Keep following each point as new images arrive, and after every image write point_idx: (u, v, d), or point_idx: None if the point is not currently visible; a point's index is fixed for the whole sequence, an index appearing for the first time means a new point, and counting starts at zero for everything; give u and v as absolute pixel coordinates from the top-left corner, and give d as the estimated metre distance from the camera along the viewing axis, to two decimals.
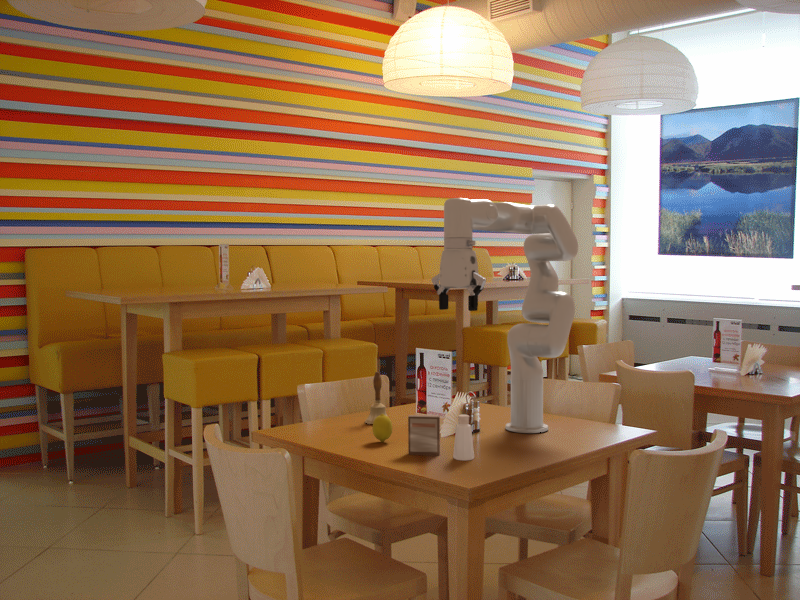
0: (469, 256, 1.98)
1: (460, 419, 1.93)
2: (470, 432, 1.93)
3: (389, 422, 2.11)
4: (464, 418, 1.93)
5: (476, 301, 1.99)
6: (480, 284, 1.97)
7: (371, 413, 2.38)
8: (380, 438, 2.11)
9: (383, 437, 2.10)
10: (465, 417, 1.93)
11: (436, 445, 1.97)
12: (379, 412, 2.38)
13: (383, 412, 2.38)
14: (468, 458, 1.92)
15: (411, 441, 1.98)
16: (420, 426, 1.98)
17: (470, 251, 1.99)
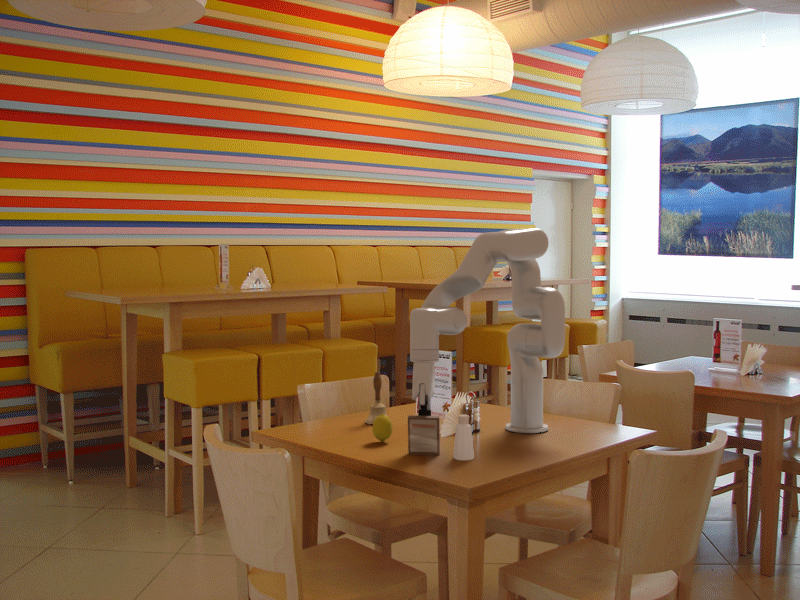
0: None
1: (460, 419, 1.93)
2: (470, 432, 1.93)
3: (389, 422, 2.11)
4: (464, 418, 1.93)
5: None
6: None
7: (371, 413, 2.38)
8: (380, 438, 2.11)
9: (383, 437, 2.10)
10: (465, 417, 1.93)
11: (436, 446, 1.97)
12: (379, 412, 2.38)
13: (383, 412, 2.38)
14: (468, 458, 1.92)
15: (411, 441, 1.98)
16: (419, 427, 1.97)
17: None
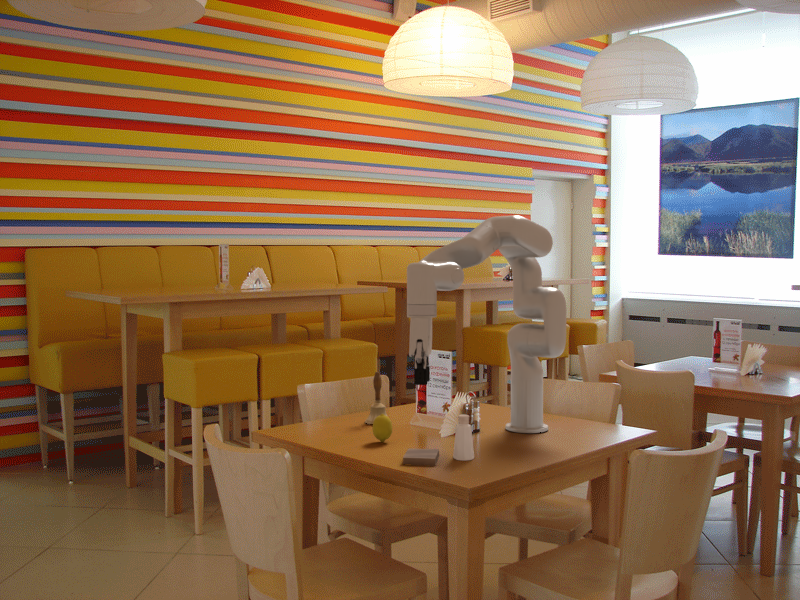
0: None
1: (460, 419, 1.93)
2: (470, 432, 1.93)
3: (389, 422, 2.11)
4: (464, 418, 1.93)
5: None
6: None
7: (371, 413, 2.38)
8: (380, 438, 2.11)
9: (383, 437, 2.10)
10: (465, 417, 1.93)
11: None
12: (379, 412, 2.38)
13: (383, 412, 2.38)
14: (468, 458, 1.92)
15: None
16: None
17: None
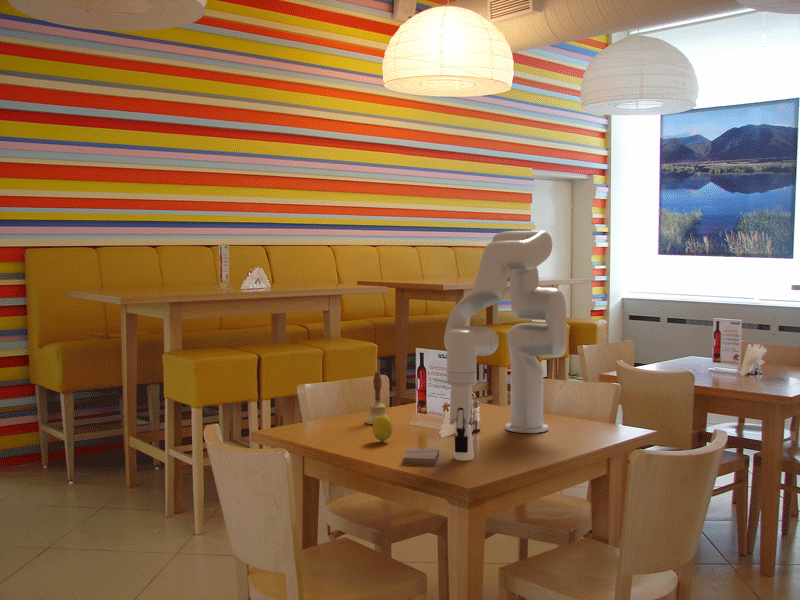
0: None
1: None
2: (470, 432, 1.93)
3: (389, 422, 2.11)
4: None
5: None
6: None
7: (371, 413, 2.38)
8: (380, 438, 2.11)
9: (383, 437, 2.10)
10: None
11: None
12: (379, 412, 2.38)
13: (383, 412, 2.38)
14: (468, 458, 1.92)
15: None
16: None
17: None
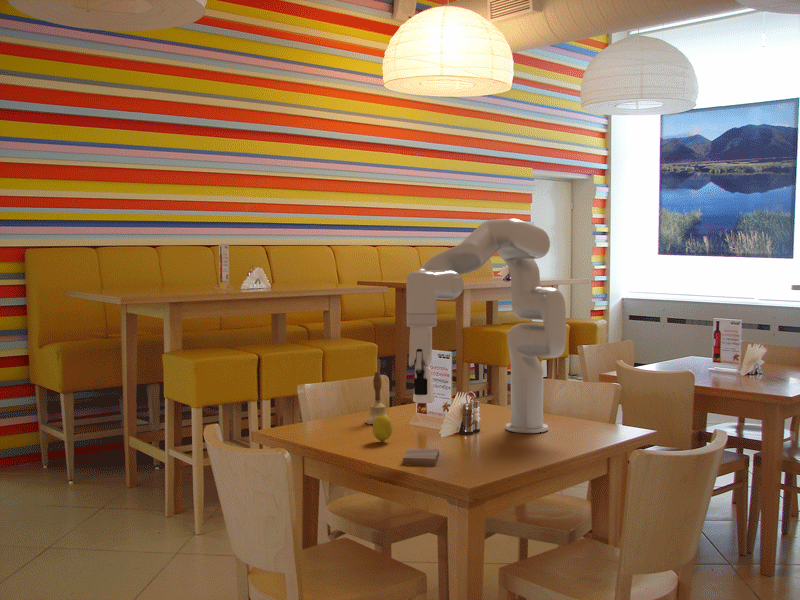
0: None
1: None
2: (430, 375, 1.92)
3: (389, 422, 2.11)
4: None
5: None
6: None
7: (371, 413, 2.38)
8: (380, 438, 2.11)
9: (383, 437, 2.10)
10: None
11: None
12: (379, 412, 2.38)
13: (383, 412, 2.38)
14: (428, 401, 1.90)
15: None
16: None
17: None
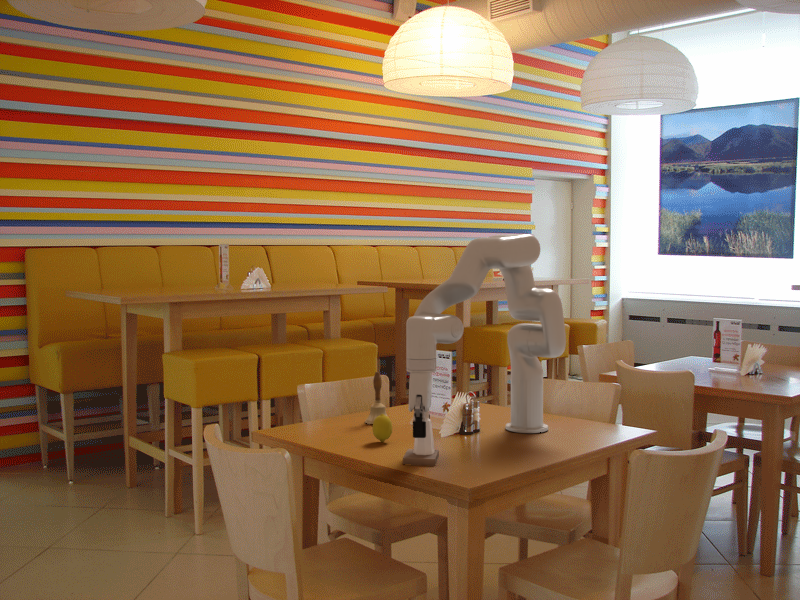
0: None
1: None
2: (430, 427, 1.92)
3: (389, 422, 2.11)
4: None
5: None
6: None
7: (371, 413, 2.38)
8: (380, 438, 2.11)
9: (383, 437, 2.10)
10: None
11: None
12: (379, 412, 2.38)
13: (383, 412, 2.38)
14: (428, 453, 1.91)
15: None
16: None
17: None
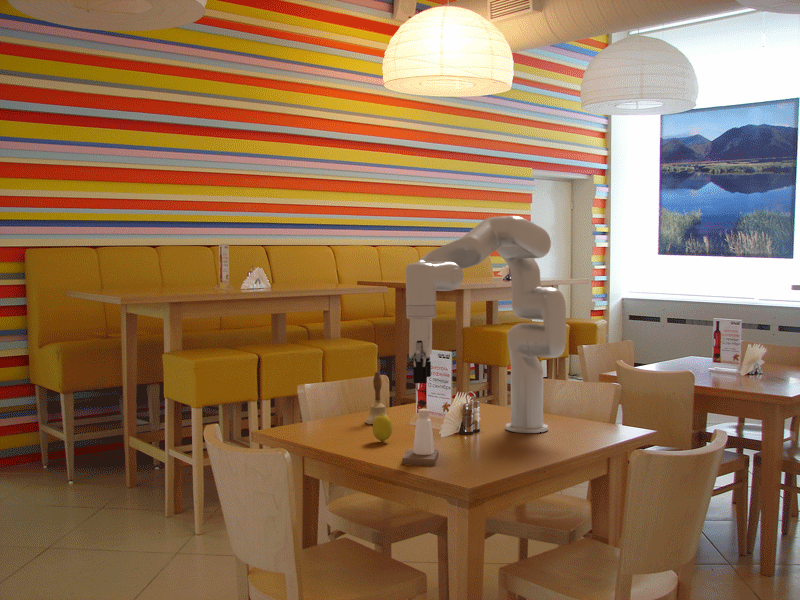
0: None
1: (420, 413, 1.92)
2: (430, 426, 1.92)
3: (389, 422, 2.11)
4: (424, 412, 1.92)
5: None
6: None
7: (371, 413, 2.38)
8: (380, 438, 2.11)
9: (383, 437, 2.10)
10: (425, 411, 1.92)
11: None
12: (379, 412, 2.38)
13: (383, 412, 2.38)
14: (428, 452, 1.91)
15: None
16: None
17: None
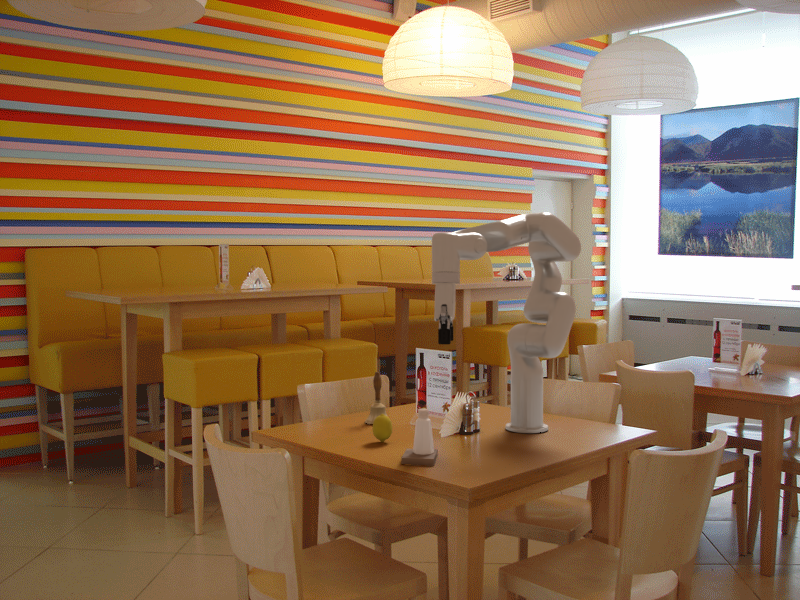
0: None
1: (419, 413, 1.92)
2: (429, 426, 1.92)
3: (389, 422, 2.11)
4: (423, 412, 1.92)
5: None
6: None
7: (371, 413, 2.38)
8: (380, 438, 2.11)
9: (383, 437, 2.10)
10: (424, 411, 1.92)
11: None
12: (379, 412, 2.38)
13: (383, 412, 2.38)
14: (427, 452, 1.91)
15: None
16: None
17: None
